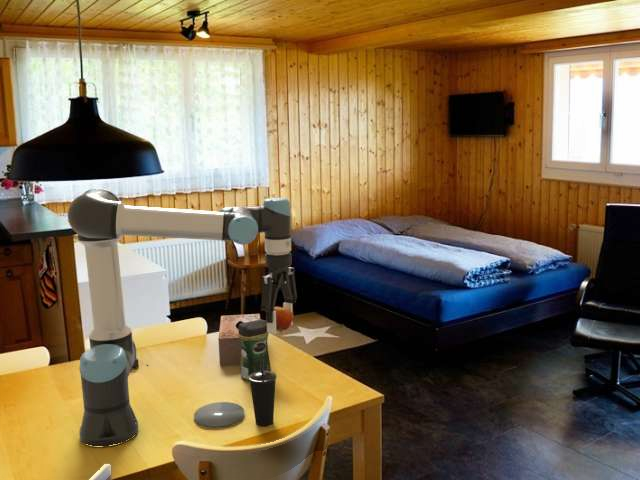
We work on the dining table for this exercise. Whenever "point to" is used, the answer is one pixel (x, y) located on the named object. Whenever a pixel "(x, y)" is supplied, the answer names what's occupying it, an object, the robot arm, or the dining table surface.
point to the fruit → (283, 318)
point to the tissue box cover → (232, 338)
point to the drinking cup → (263, 395)
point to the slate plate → (219, 415)
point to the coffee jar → (253, 347)
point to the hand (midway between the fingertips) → (280, 328)
